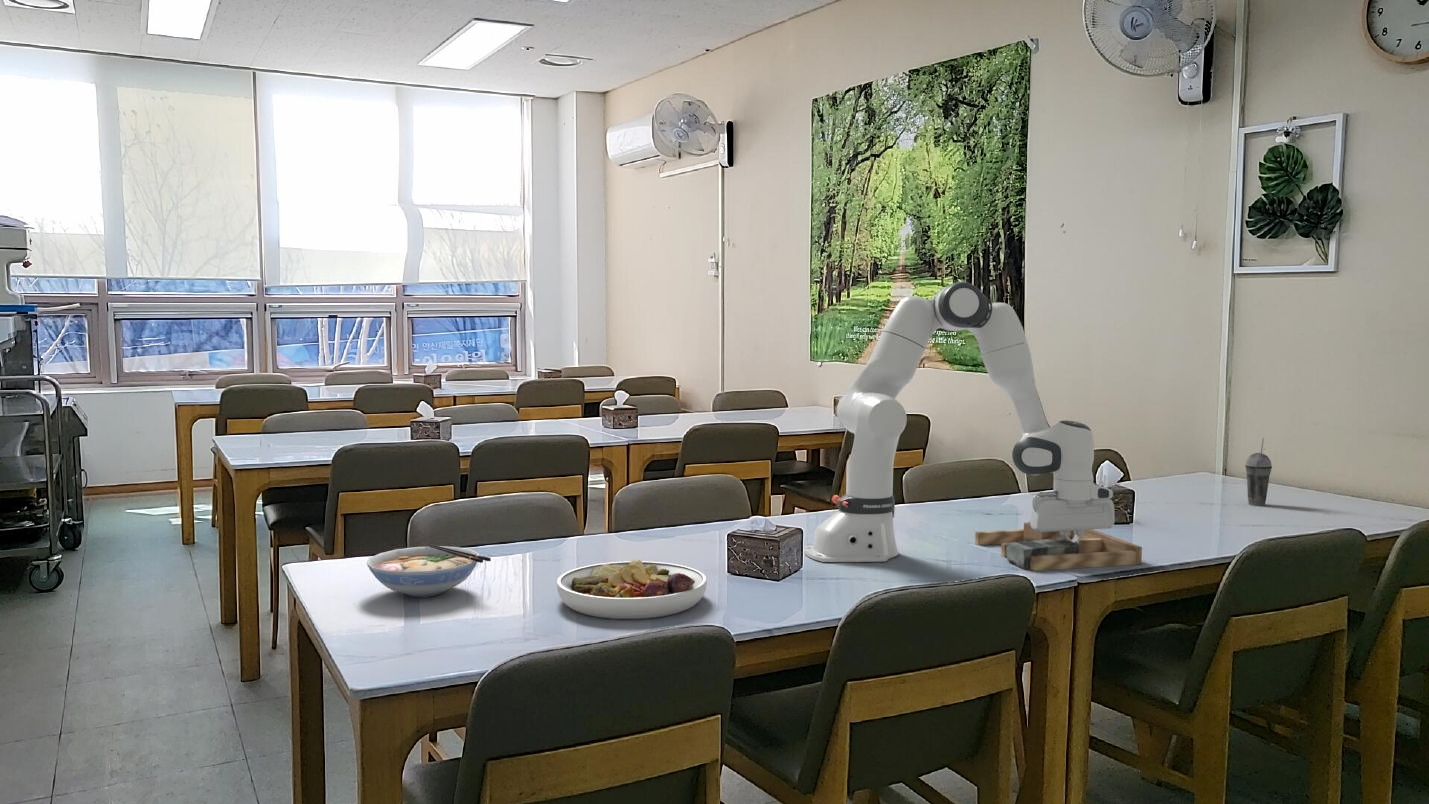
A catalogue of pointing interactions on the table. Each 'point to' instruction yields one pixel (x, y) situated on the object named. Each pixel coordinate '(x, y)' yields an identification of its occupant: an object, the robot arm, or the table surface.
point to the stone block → (1038, 550)
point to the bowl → (631, 589)
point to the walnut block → (1038, 534)
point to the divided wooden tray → (1101, 544)
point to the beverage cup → (1258, 477)
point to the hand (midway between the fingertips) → (1071, 548)
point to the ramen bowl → (424, 568)
